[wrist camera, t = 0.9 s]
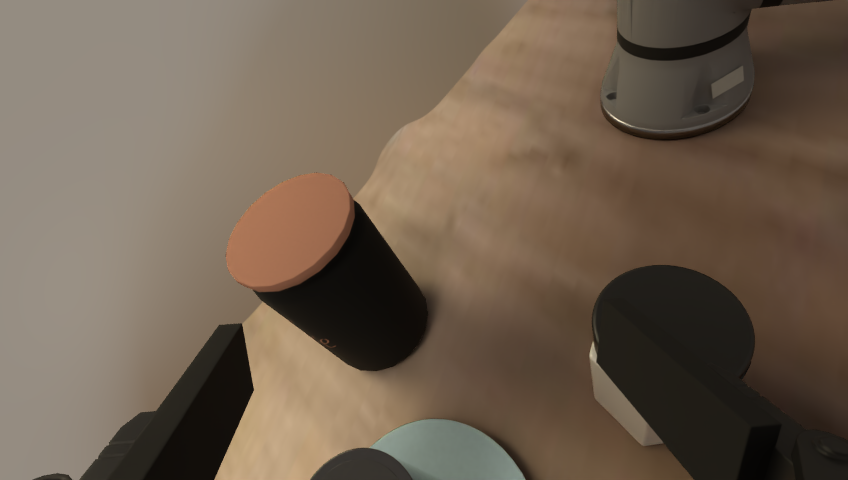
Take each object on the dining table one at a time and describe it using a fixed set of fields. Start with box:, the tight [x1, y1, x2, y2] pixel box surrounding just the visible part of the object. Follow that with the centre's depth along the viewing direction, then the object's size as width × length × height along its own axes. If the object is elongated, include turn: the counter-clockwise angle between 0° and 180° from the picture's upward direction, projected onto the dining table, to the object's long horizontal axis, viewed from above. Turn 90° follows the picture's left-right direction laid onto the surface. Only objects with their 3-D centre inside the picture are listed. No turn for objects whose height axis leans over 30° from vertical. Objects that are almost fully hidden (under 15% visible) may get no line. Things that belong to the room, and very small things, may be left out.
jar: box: [589, 265, 755, 446], centre depth 29 cm, size 9×8×12 cm
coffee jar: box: [226, 173, 428, 371], centre depth 38 cm, size 11×11×18 cm
